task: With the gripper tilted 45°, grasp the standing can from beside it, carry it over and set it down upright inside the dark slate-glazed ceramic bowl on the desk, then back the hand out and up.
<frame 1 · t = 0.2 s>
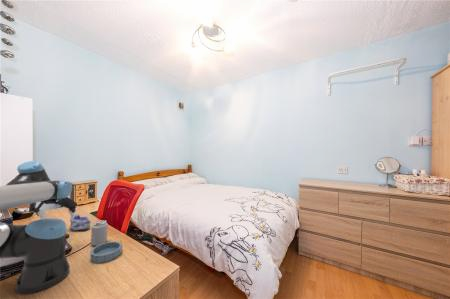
hand: (59, 217, 96), 15 cm above the table, tool tilted 35°, fingers open, 13 cm apart
bowl: (106, 254, 88), on the table
mineral: (79, 229, 116), on the table
can: (99, 243, 99), on the table
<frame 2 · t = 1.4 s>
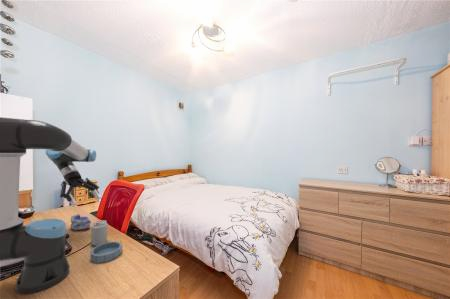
hand: (87, 201, 103), 22 cm above the table, tool tilted 45°, fingers open, 13 cm apart
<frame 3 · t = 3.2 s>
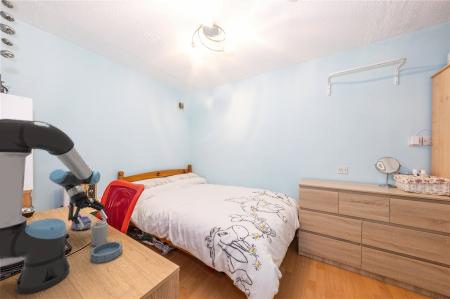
hand: (94, 223, 102), 10 cm above the table, tool tilted 45°, fingers open, 13 cm apart
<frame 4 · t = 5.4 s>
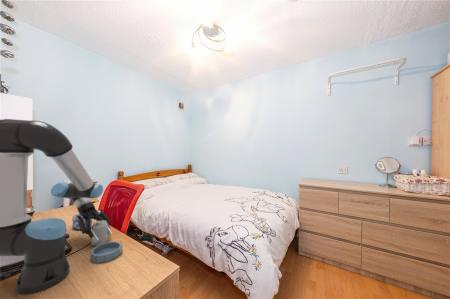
hand: (103, 237, 98), 4 cm above the table, tool tilted 45°, fingers closed on can, 7 cm apart
can: (99, 243, 99), on the table, touching gripper
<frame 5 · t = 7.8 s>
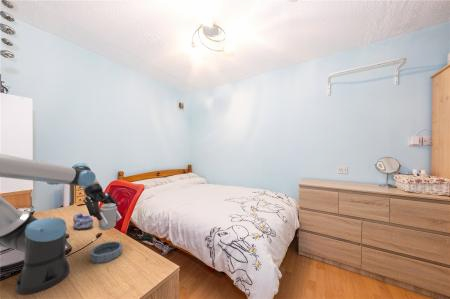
hand: (112, 221, 90), 16 cm above the table, tool tilted 45°, fingers closed on can, 7 cm apart
can: (107, 228, 91), point 13 cm above the table, touching gripper
when the fingers open (6 cm above the table, at t = 10.4 s): can drops 1 cm, resting on bowl.
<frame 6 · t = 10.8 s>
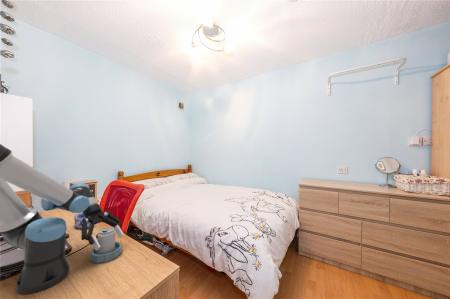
hand: (110, 242, 87), 7 cm above the table, tool tilted 45°, fingers open, 12 cm apart
can: (106, 253, 88), point 1 cm above the table, touching bowl
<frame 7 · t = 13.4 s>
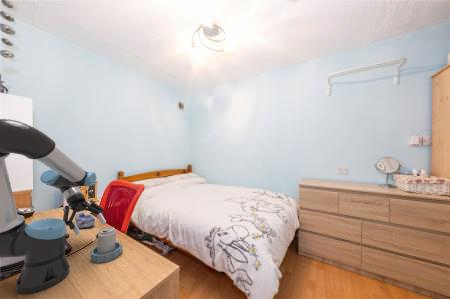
hand: (92, 228, 93), 11 cm above the table, tool tilted 45°, fingers open, 13 cm apart
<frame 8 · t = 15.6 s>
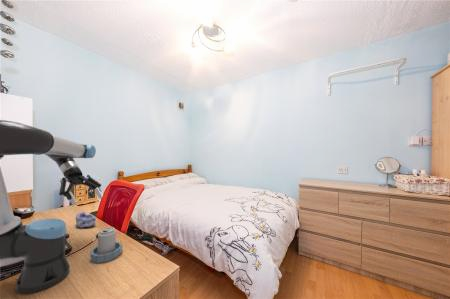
hand: (89, 200, 94), 26 cm above the table, tool tilted 45°, fingers open, 13 cm apart
at the end: can 0.1 cm off-centre on the bowl, point 0.8 cm above the bowl's base; can tilted 0°; the gripper is holding nothing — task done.
